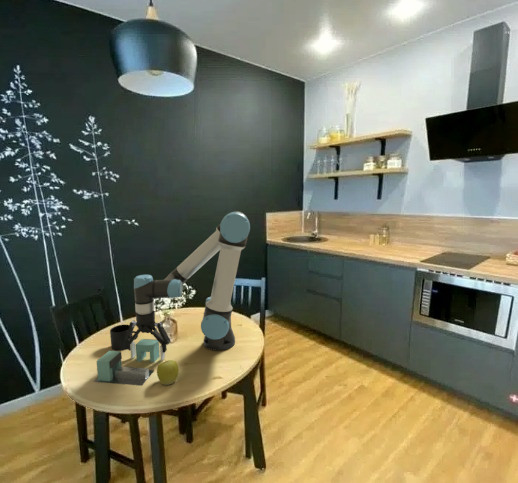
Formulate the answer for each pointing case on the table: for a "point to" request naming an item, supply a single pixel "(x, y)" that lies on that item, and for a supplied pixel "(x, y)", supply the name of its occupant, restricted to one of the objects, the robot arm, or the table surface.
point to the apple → (167, 372)
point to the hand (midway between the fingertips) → (148, 358)
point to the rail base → (128, 375)
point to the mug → (119, 337)
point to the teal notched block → (108, 365)
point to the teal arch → (147, 349)
